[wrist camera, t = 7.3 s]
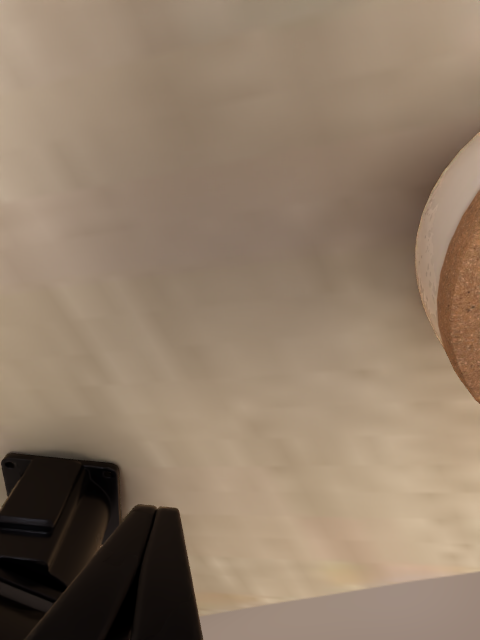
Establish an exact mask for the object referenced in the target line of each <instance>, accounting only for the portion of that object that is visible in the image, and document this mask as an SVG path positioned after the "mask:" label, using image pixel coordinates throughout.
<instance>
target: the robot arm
mask: <svg viewBox="0 0 480 640" xmlns="http://www.w3.org/2000/svg"><path fill="white" fill-rule="evenodd" d="M1 466H2V471H3V476H4V481H5V486H6V491H7V496H8V498H7V499H6V501H5V503H4V504H3V506H2V508H1V509H0V640H203V636H202V631H201V625H200V620H199V614H198V609H197V604H196V598H195V593H194V588H193V582H192V577H191V572H190V566H189V561H188V556H187V550H186V545H185V540H184V534H183V529H182V524H181V518H180V513H179V510H178V509H177V508H172V507H159V508H158V509H157V507H156V506H152V505H142V504H139V505H136V506H135V507H134V508H133V509H132V510H131V511H130V513H129V514H128V515H127V516H126V517H125V519H124V520H123V521H122V522H121V504H120V480H119V468H118V467H117V466H116V465H114V464H112V463H105V462H95V461H85V460H75V459H65V458H55V457H45V456H35V455H25V454H15V453H9V454H7V455H6V456H5V457H4V459H3V460H2V462H1ZM109 472H111V473H109ZM101 545H102V546H101ZM100 546H101V548H100Z"/></svg>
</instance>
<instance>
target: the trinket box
mask: <svg viewBox="0 0 480 640" xmlns="http://www.w3.org/2000/svg"><path fill="white" fill-rule="evenodd" d="M415 266H416V277H417V284H418V288H419V292H420V296H421V300H422V304H423V307H424V309H425V312H426V314H427V317H428V319H429V321H430V323H431V325H432V327H433V330H434V332H435V334H436V336H437V337H438V339H439V341H440V343H441V344H442V346H443V348H444V349H445V352H446V354H447V356H448V358H449V360H450V362H451V364H452V366H453V368H454V371H455V372H456V374H457V375H458V377H459V378H460V380H461V381H462V383H463V384H464V385H465V387H466V388H467V389H468V391H469V392H470V393H471V394H472V396H473V397H474V398H475V400H476V401H477V402H478V403H479V404H480V132H479V133H478V134H477V135H476V136H475V137H474V138H473V139H472V140H471V141H470V142H469V143H468V144H466V145H465V146H464V147H463V148H462V149H461V150H460V151H459V153H458V154H457V155H456V156H455V158H454V159H453V160H452V161H451V163H450V164H449V165H448V166H447V167H446V169H445V170H444V171H443V173H442V175H441V176H440V178H439V180H438V181H437V183H436V185H435V186H434V188H433V190H432V192H431V194H430V196H429V199H428V201H427V203H426V206H425V208H424V210H423V213H422V217H421V220H420V224H419V228H418V232H417V237H416V247H415Z"/></svg>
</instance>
